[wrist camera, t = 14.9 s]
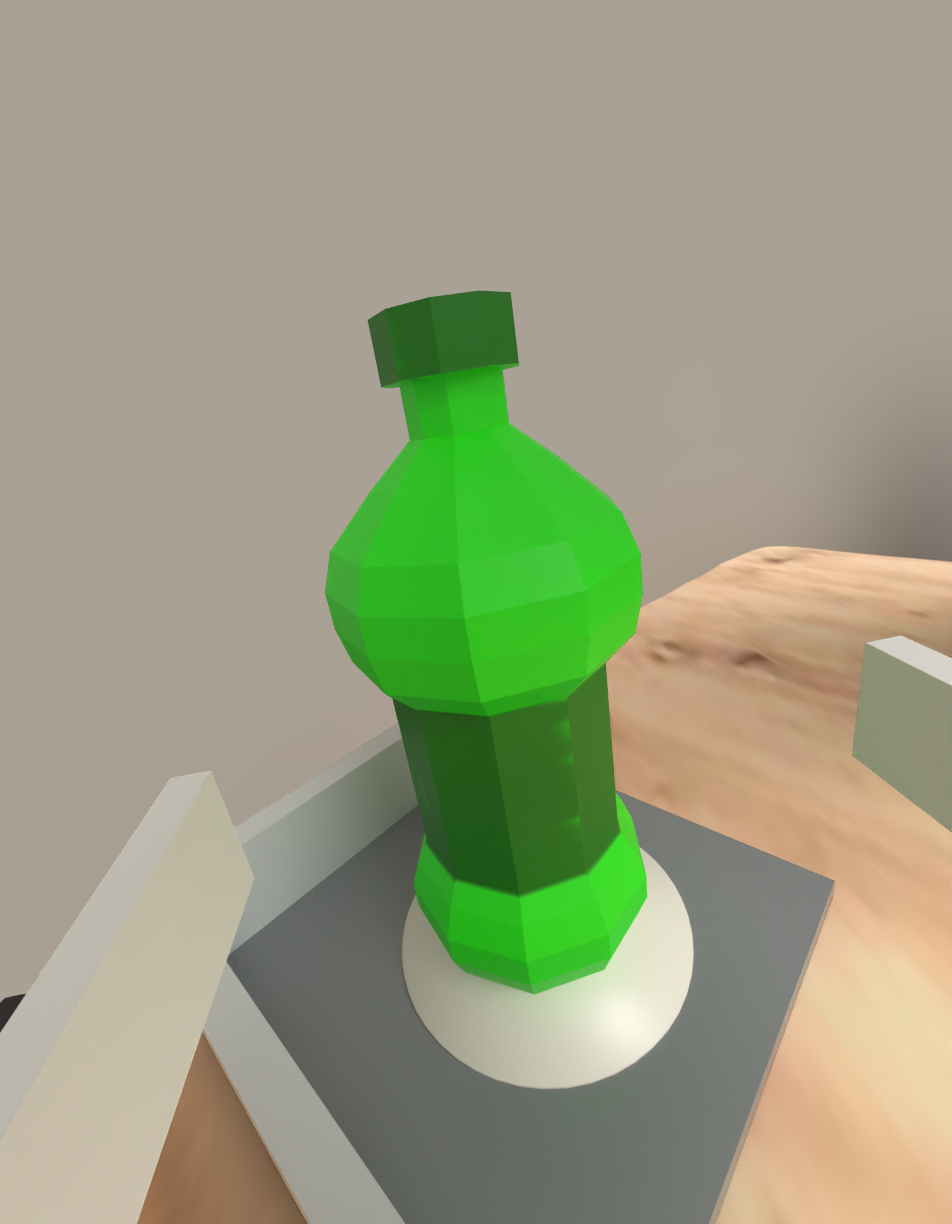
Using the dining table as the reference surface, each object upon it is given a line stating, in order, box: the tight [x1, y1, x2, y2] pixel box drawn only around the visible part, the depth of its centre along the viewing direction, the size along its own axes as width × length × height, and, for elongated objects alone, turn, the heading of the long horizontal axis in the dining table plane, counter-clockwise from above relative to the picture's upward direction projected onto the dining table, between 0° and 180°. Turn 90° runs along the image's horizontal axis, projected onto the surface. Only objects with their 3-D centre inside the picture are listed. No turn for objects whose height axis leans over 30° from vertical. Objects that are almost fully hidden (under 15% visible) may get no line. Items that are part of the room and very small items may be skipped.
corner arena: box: [202, 723, 835, 1224], centre depth 24 cm, size 22×22×6 cm
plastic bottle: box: [325, 291, 648, 995], centre depth 20 cm, size 10×10×25 cm
